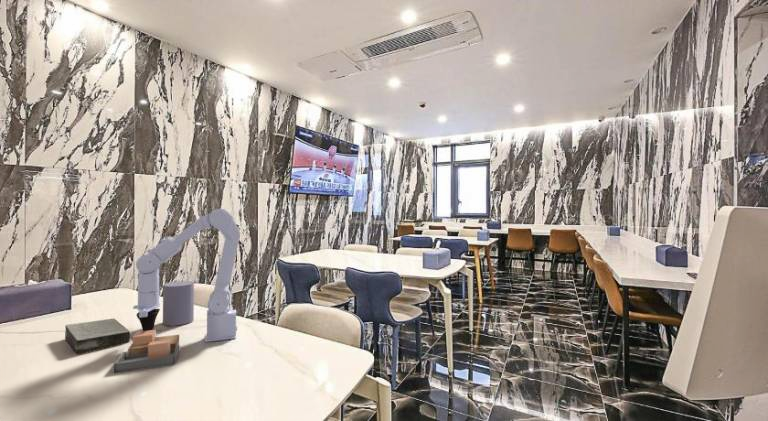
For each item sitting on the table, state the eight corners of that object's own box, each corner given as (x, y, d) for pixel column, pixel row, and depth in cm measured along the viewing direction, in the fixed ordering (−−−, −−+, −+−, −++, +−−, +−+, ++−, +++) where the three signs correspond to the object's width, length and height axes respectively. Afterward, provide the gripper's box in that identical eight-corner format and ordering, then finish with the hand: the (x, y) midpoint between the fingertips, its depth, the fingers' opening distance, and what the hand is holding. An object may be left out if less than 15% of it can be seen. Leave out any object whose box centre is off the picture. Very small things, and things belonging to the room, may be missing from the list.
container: (196, 322, 135) (196, 284, 135) (165, 328, 129) (165, 287, 129) (190, 316, 143) (190, 279, 143) (160, 321, 137) (161, 283, 137)
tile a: (170, 339, 103) (168, 342, 101) (170, 356, 103) (168, 360, 101) (150, 341, 101) (148, 345, 99) (150, 359, 101) (147, 362, 99)
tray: (179, 352, 107) (179, 345, 107) (174, 364, 99) (175, 355, 99) (123, 360, 102) (123, 351, 102) (113, 372, 94) (113, 363, 94)
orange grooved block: (179, 343, 114) (179, 334, 114) (175, 353, 107) (175, 343, 107) (135, 349, 110) (135, 339, 110) (127, 359, 102) (128, 348, 102)
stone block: (76, 356, 105) (76, 339, 105) (64, 340, 117) (64, 325, 117) (130, 343, 115) (131, 328, 115) (114, 330, 128) (114, 316, 128)
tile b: (155, 337, 112) (155, 329, 112) (152, 343, 107) (152, 334, 107) (136, 339, 110) (137, 331, 110) (132, 345, 105) (132, 336, 105)
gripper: (139, 287, 118) (139, 327, 118) (127, 297, 105) (126, 343, 105) (164, 285, 121) (163, 325, 121) (154, 295, 107) (154, 339, 107)
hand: (148, 333), depth 113 cm, fingers closed
